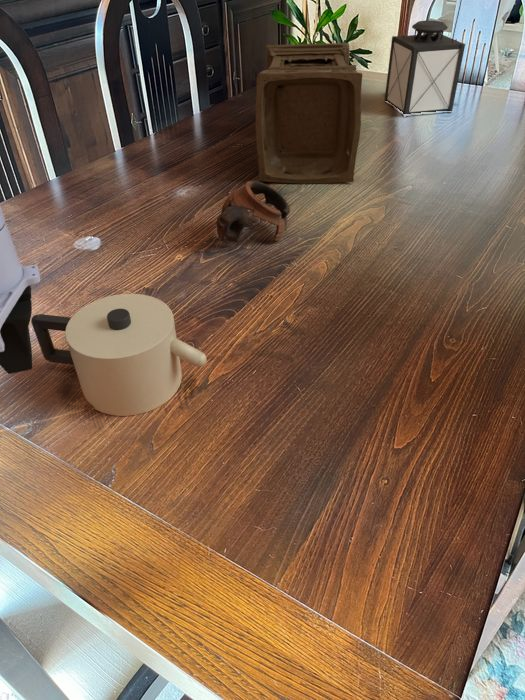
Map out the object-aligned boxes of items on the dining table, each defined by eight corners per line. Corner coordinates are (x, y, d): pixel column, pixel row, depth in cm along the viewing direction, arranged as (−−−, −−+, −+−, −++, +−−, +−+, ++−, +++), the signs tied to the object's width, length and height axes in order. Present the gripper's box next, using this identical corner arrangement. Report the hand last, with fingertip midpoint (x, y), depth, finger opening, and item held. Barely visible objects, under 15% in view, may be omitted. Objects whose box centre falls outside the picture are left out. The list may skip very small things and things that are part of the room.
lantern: (452, 113, 119) (484, -47, 101) (404, 117, 118) (428, -44, 99) (428, 98, 128) (454, -52, 110) (383, 102, 126) (402, -50, 108)
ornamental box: (269, 129, 121) (256, 34, 110) (351, 118, 118) (346, 19, 107) (260, 193, 94) (241, 75, 82) (366, 181, 91) (362, 57, 80)
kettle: (222, 358, 57) (216, 293, 52) (195, 427, 50) (185, 359, 44) (71, 339, 59) (51, 276, 54) (25, 402, 52) (-3, 336, 47)
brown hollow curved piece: (231, 216, 85) (258, 171, 80) (277, 256, 84) (307, 212, 79) (187, 231, 75) (214, 180, 70) (238, 276, 74) (269, 227, 69)
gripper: (22, 268, 36) (72, 411, 45) (21, 182, 47) (61, 312, 55) (-97, 289, 34) (-21, 433, 43) (-70, 195, 45) (-13, 327, 54)
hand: (20, 366), depth 49 cm, fingers closed
